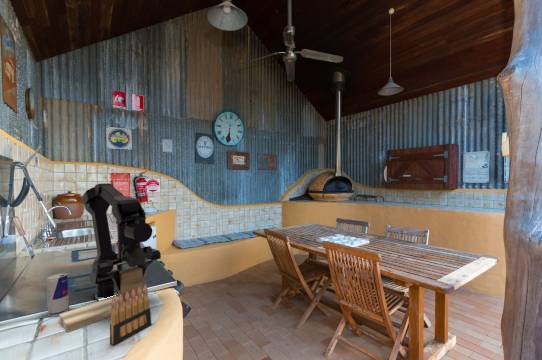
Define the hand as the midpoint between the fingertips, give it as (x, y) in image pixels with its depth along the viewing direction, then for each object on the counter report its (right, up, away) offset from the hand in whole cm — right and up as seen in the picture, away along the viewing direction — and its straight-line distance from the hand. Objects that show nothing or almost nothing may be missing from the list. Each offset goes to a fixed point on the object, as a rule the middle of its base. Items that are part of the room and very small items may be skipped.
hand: (129, 286), depth 84 cm
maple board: (-8, -8, +1) cm, 11 cm away
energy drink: (-23, -9, 0) cm, 25 cm away
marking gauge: (-3, -3, +3) cm, 5 cm away
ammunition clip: (+8, -8, -13) cm, 17 cm away
